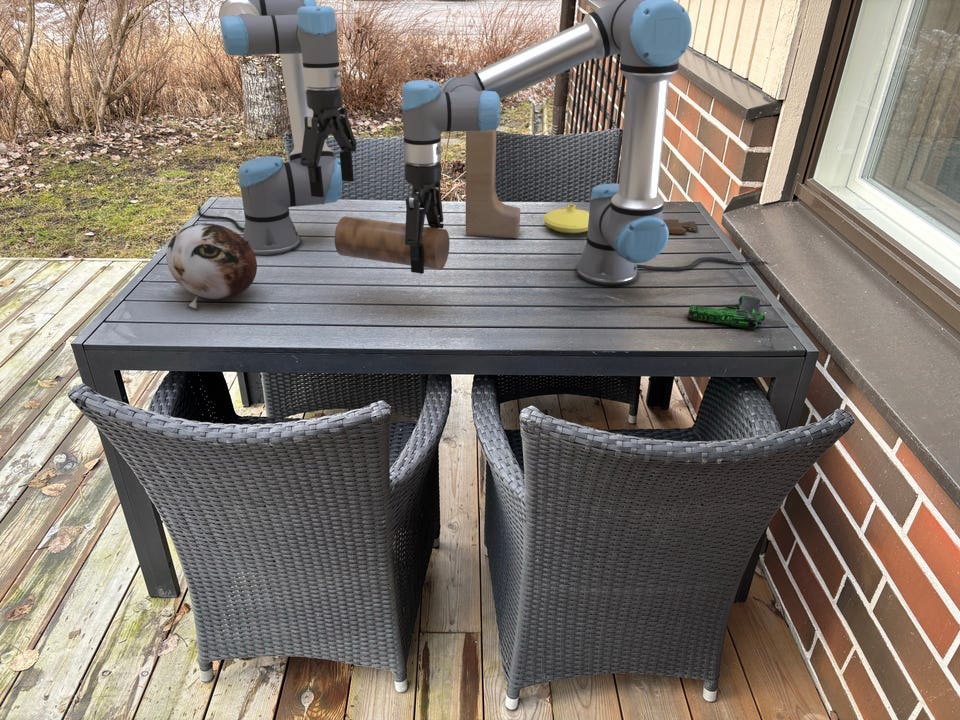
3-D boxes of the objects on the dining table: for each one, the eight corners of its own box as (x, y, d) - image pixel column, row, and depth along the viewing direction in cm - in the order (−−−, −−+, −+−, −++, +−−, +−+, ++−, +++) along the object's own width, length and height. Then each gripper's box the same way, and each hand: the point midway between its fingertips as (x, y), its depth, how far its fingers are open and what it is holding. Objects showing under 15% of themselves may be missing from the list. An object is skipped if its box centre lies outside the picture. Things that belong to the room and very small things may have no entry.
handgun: (768, 297, 166) (764, 322, 154) (765, 309, 168) (761, 335, 156) (697, 286, 172) (687, 310, 159) (695, 297, 173) (685, 322, 161)
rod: (336, 261, 160) (332, 223, 155) (354, 247, 167) (351, 211, 162) (435, 276, 153) (434, 237, 149) (449, 261, 160) (449, 223, 156)
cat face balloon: (130, 285, 161) (164, 203, 163) (192, 308, 177) (221, 233, 178) (195, 307, 151) (229, 220, 152) (254, 330, 166) (285, 250, 168)
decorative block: (517, 239, 203) (521, 131, 188) (465, 235, 205) (465, 128, 189) (519, 230, 209) (524, 124, 194) (469, 226, 211) (469, 122, 196)
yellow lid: (559, 216, 220) (561, 193, 217) (605, 227, 212) (608, 204, 209) (532, 230, 209) (533, 207, 206) (580, 242, 201) (582, 218, 198)
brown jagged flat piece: (700, 236, 208) (693, 224, 217) (701, 230, 207) (694, 219, 216) (612, 233, 208) (607, 221, 217) (613, 227, 207) (608, 216, 216)
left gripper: (307, 98, 139) (319, 205, 149) (366, 81, 159) (373, 176, 170) (274, 96, 141) (288, 201, 151) (337, 79, 162) (345, 173, 172)
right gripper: (419, 178, 136) (423, 286, 148) (458, 150, 154) (458, 249, 166) (383, 174, 138) (389, 280, 150) (425, 147, 156) (428, 244, 168)
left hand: (333, 188), depth 160 cm, fingers open, 13 cm apart
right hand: (425, 264), depth 158 cm, fingers closed on rod, 9 cm apart
